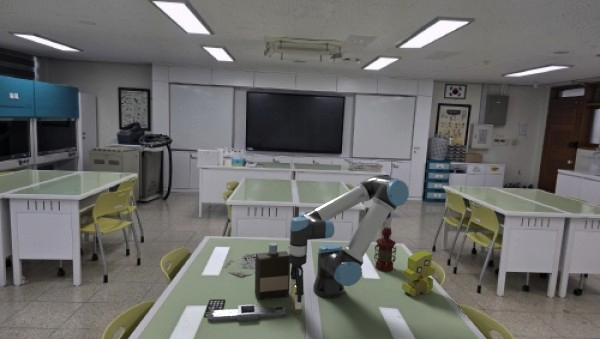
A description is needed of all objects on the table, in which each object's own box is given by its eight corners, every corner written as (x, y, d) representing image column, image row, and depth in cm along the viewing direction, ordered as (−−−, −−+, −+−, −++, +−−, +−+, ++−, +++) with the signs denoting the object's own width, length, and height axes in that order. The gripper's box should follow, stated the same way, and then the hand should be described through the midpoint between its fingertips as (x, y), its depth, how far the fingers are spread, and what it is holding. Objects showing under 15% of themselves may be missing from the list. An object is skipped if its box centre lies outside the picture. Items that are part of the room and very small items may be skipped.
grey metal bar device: (285, 308, 162) (285, 302, 162) (287, 318, 155) (287, 311, 154) (208, 313, 157) (208, 306, 156) (207, 323, 149) (207, 316, 148)
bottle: (254, 292, 177) (254, 242, 173) (286, 289, 181) (287, 240, 178) (256, 300, 169) (257, 248, 166) (290, 296, 174) (291, 245, 170)
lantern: (386, 274, 203) (390, 221, 199) (369, 267, 212) (372, 216, 208) (399, 269, 211) (403, 218, 207) (381, 262, 220) (385, 213, 216)
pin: (300, 309, 162) (300, 283, 161) (301, 313, 159) (302, 287, 157) (291, 309, 162) (291, 283, 160) (292, 314, 158) (293, 288, 156)
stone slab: (286, 264, 214) (286, 261, 214) (238, 279, 191) (239, 277, 191) (258, 251, 233) (258, 249, 233) (212, 264, 210) (212, 262, 210)
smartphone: (203, 317, 153) (209, 299, 168) (203, 318, 153) (209, 300, 168) (221, 316, 154) (225, 299, 169) (221, 318, 154) (225, 300, 169)
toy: (409, 297, 177) (412, 257, 174) (401, 292, 182) (403, 253, 179) (433, 292, 183) (437, 253, 181) (425, 287, 188) (428, 249, 186)
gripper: (285, 244, 168) (283, 288, 171) (293, 265, 144) (291, 316, 147) (301, 243, 169) (299, 287, 172) (312, 264, 145) (309, 315, 148)
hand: (295, 300), depth 159 cm, fingers open, 13 cm apart
